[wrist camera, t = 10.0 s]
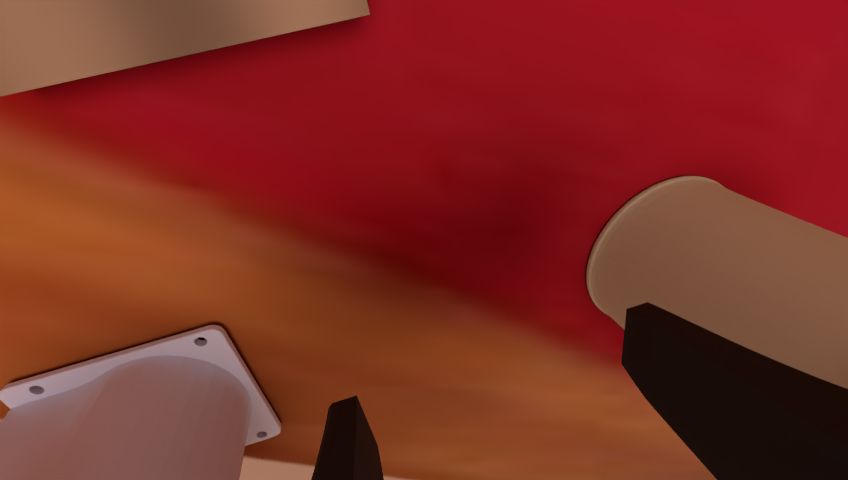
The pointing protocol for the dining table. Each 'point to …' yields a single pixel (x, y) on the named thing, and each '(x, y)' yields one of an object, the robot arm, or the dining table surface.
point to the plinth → (139, 33)
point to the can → (729, 272)
